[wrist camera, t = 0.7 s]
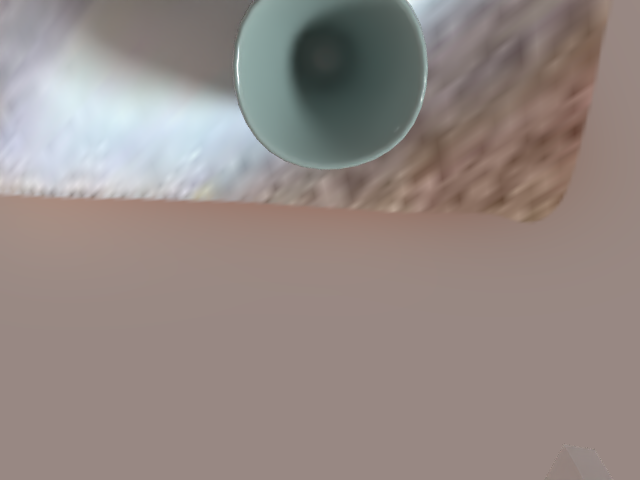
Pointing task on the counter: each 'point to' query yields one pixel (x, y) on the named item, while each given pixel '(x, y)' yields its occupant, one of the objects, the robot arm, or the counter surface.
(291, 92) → the cup
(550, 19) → the counter surface
